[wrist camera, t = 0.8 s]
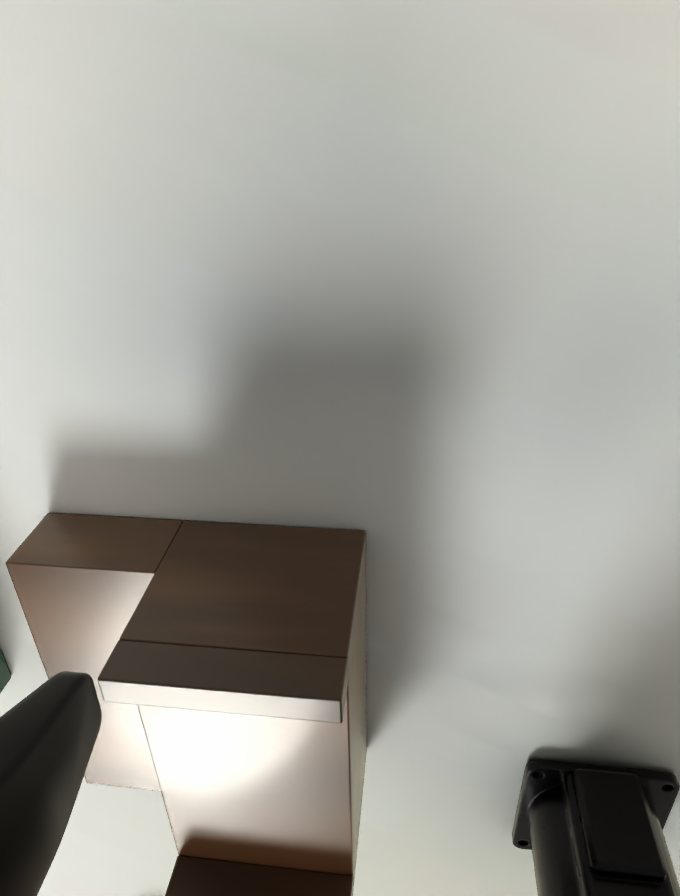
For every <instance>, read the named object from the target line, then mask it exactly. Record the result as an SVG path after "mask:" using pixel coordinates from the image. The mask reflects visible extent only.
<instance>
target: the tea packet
mask: <svg viewBox="0 0 680 896" xmlns="http://www.w3.org/2000/svg"><path fill="white" fill-rule="evenodd" d="M10 678H11V674H10V672H9V670H8V667H7V665H6V662H5V660H4V657H3V655H2V653H1V650H0V693H1V691H2V690H3V689H4V687H5V686H6V684H7V683H8V681H9V680H10Z"/></svg>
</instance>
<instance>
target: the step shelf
mask: <svg viewBox="0 0 680 896" xmlns="http://www.w3.org/2000/svg"><path fill="white" fill-rule="evenodd" d="M6 565H7V568H8V571H9V574H10V576H11V579H12V582H13V584H14V587H15V590H16V592H17V595H18V598H19V601H20V603H21V606H22V609H23V611H24V614H25V617H26V619H27V622H28V625H29V627H30V630H31V633H32V636H33V638H34V641H35V644H36V646H37V649H38V652H39V654H40V657H41V660H42V663H43V665H44V668H45V671H46V673H47V676H48V679H50V678H51V677H53V676H54V675H56V674H57V673H60V672H62V671H70V672H80V673H87V674H89V675H90V676H91V677H92V679H93V682H94V686H95V689H96V693H97V697H98V700H99V704H100V707H101V712H102V720H101V726H100V730H99V733H98V736H97V739H96V742H95V745H94V748H93V750H92V753H91V756H90V759H89V762H88V765H87V768H86V771H85V774H84V776H85V779H86V781H87V783H92V784H101V785H110V786H119V787H129V788H138V789H147V790H157V791H161V792H162V796H163V800H164V803H165V807H166V811H167V814H168V818H169V821H170V825H171V829H172V832H173V836H174V839H175V843H176V847H177V850H178V854H179V856H178V857H177V860H176V863H175V866H174V869H173V873H172V876H171V879H170V882H169V885H168V888H167V891H166V894H165V896H353V886H354V878H355V867H356V857H357V846H358V836H359V825H360V815H361V804H362V794H363V783H364V772H365V762H366V751H367V732H366V533H365V531H356V530H338V529H321V528H303V527H285V526H267V525H250V524H232V523H214V522H196V521H182V520H165V519H147V518H129V517H111V516H94V515H76V514H58V513H48V514H47V515H46V516H45V517H44V518H43V520H42V521H41V522H40V523H39V524H38V525H37V527H36V528H35V529H34V530H33V531H32V532H31V534H30V535H29V536H28V537H27V538H26V539H25V541H24V542H23V543H22V544H21V545H20V546H19V548H18V549H17V550H16V551H15V552H14V553H13V555H12V556H11V557H10V558H9V559H8V560H7V562H6Z"/></svg>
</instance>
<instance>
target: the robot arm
mask: <svg viewBox="0 0 680 896" xmlns="http://www.w3.org/2000/svg"><path fill="white" fill-rule="evenodd" d="M101 720H102V712H101V707H100V704H99V700H98V697H97V693H96V689H95V686H94V682H93V679H92V677H91V676H90V675H89V674H87V673H80V672H70V671H62V672H60V673H57V674H56V675H54V676H53V677H51V678H50V679H49V680H48V681H46V682H45V683H44V684H42V685H41V686H40V687H39V688H37V689H36V690H35V691H33V692H32V693H31V694H30V695H28V696H27V697H26V698H24V699H23V700H22V701H21V702H19V703H18V704H17V705H15V706H14V707H13V708H12V709H10V710H9V711H8V712H6V713H5V714H4V715H3V716H1V717H0V896H37V894H38V892H39V890H40V888H41V885H42V883H43V881H44V879H45V877H46V874H47V872H48V870H49V868H50V866H51V863H52V861H53V859H54V857H55V854H56V852H57V850H58V847H59V845H60V842H61V840H62V837H63V834H64V832H65V829H66V826H67V824H68V821H69V818H70V815H71V812H72V809H73V806H74V803H75V800H76V797H77V794H78V791H79V788H80V786H81V783H82V780H83V777H84V774H85V771H86V768H87V765H88V762H89V759H90V756H91V753H92V750H93V748H94V745H95V742H96V739H97V736H98V733H99V730H100V726H101ZM678 791H679V784H678V781H677V778H676V776H675V775H673V774H672V773H668V772H657V771H647V770H636V769H626V768H615V767H605V766H594V765H584V764H573V763H563V762H552V761H542V760H533V761H530V762H528V763H527V764H526V766H525V771H524V776H523V781H522V786H521V791H520V796H519V801H518V806H517V811H516V816H515V821H514V826H513V831H512V838H513V844H514V846H516V847H518V848H521V849H530V850H532V853H533V860H534V868H535V876H536V884H537V892H538V896H680V887H679V884H678V881H677V877H676V874H675V871H674V867H673V864H672V861H671V857H670V854H669V851H668V848H667V844H666V841H665V838H664V834H663V831H662V830H663V828H664V825H665V823H666V820H667V818H668V816H669V813H670V811H671V808H672V806H673V803H674V801H675V798H676V796H677V794H678Z"/></svg>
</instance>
